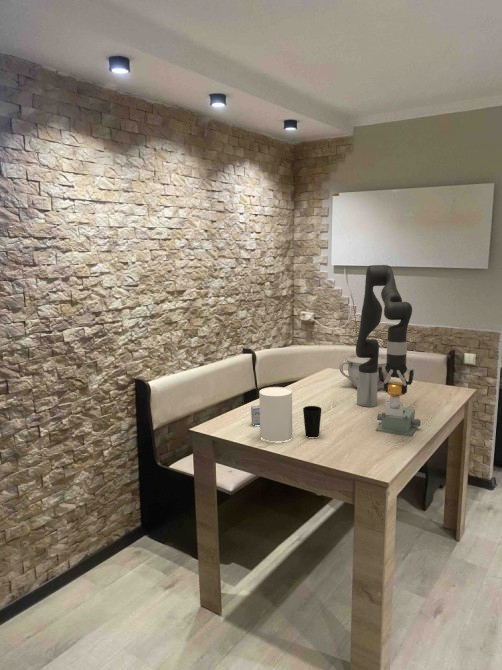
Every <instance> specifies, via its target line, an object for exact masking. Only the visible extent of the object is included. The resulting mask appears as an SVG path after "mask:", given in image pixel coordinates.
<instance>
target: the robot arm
mask: <svg viewBox="0 0 502 670" xmlns="http://www.w3.org/2000/svg"><path fill="white" fill-rule="evenodd" d="M393 271H394V270H393V269H392V267H391V266H390V265H388V264H372V265H369V266H368V267H367V268H366V271H365V272H366V273H365V281H364V282H365V283H364V295H363V304H362V308H361V315H360V324H359V332H358V335H357V338H356V344H355V354H356V355H357V357H359V358H370V360H369V361H367V362H365V363H363V364H361V365H359V384H358V386H357V387H356V405H358V406H360V407H366V408H372V407H377V405H378V390H377V377H378V372H379V381H381V382H383V383H384V388H383V391H384V392H385V393H387V383H388V381H389V379H390V377H391V378H397V379H400V381H401V383H403V393H402V394H403V395H406V394H407V393H408V386H411V385H412V384H413V381H414V375H415V369H414V368H408V366H407V353H408V350H407V348H408V347H407V346H408V345H407V333H408V332H407V331H408V327H409V323H410V320H411V317H412V314H413V307H412V304H411V302H409V301H403V298H402V296H401V295H400V293H399V290H398V288H397V283H396V279H395V276H394V272H393ZM374 287H382V289H381V292H380V293H381V294H380V297H381V299H382V302H383V306H384V307H383V306H382V304H381V303H380V301H379V299H378V298H377V296H376V294H375V292H374ZM382 315H384V317H385V318H386V320H390V321H399V322H398V323H397V324H394V325H391V326H389V327H388V329H387V344H386V355H387V361H386V366H383V367H382V366H380V367H379V368H378V356H379V354H380V344H379V340H377V339H376V338H375V339H374V338H372V339H371V338H369V339H368V336H369V335H370V334H371V333H372V332H373V331H375V330H376V328H377V327H378V326H379V325H380V323H381V320H382ZM384 370H386V371H387V373H388V375H387V377H386V379H384V376H383V372H384ZM406 373H407V374H408V380H407V378H406V377H407V376H405V374H406ZM389 382H390V381H389ZM403 395H402V396H403Z"/></svg>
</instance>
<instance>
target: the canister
mask: <svg viewBox="0 0 502 670" xmlns="http://www.w3.org/2000/svg"><path fill="white" fill-rule="evenodd" d="M258 393H259V395H258V396H259V405H260V426H259V437H260V436H261V437H262V438H263V439H265V440H269V441H285V440H289V439H291V438H292V439H293V390H292V389H290V388H288V387H281V386H271V387H270V386H269V387H265V388H262V389H260V390H259V392H258Z"/></svg>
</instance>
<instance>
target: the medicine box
mask: <svg viewBox="0 0 502 670" xmlns="http://www.w3.org/2000/svg"><path fill="white" fill-rule="evenodd" d="M250 410H251V411H250V412H251V413H250V416H251V417H250V418H251V424H252V423H253V424H254V425H260V404H259V405H251V406H250Z"/></svg>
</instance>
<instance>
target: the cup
mask: <svg viewBox="0 0 502 670" xmlns="http://www.w3.org/2000/svg"><path fill="white" fill-rule="evenodd" d="M302 412H303V423H304V424H303V425H304V431H305V437H306V436H308V437H318V436H319V437H320V430H321V429H320V428H321V418H322V417H321V416H322V407H320V406H317V405H308V406H304V407H303V408H302ZM308 437H307V438H308ZM319 437H318V438H319Z"/></svg>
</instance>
